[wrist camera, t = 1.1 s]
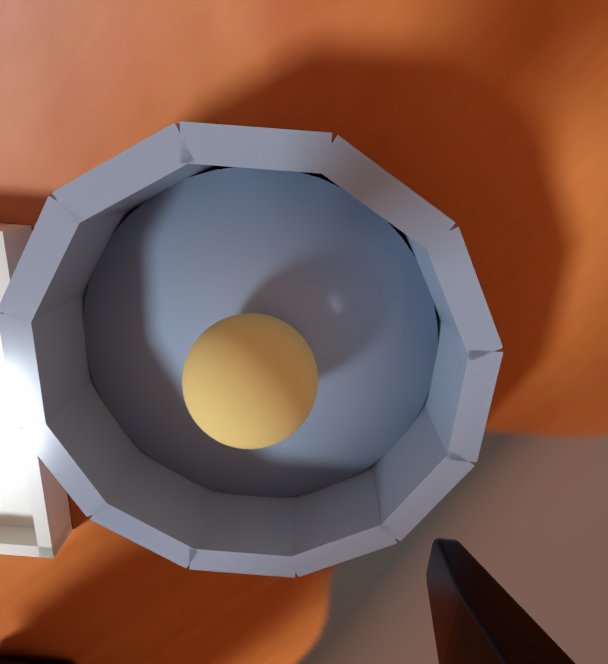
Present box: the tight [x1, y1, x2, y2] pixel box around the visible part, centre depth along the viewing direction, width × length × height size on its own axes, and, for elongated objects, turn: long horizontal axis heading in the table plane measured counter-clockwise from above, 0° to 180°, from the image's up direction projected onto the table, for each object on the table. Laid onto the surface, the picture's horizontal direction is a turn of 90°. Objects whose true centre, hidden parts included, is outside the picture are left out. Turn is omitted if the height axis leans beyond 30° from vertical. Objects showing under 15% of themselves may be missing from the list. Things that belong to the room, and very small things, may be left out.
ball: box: [182, 313, 318, 449], centre depth 15 cm, size 4×4×4 cm
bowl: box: [0, 121, 503, 578], centre depth 16 cm, size 15×15×4 cm
